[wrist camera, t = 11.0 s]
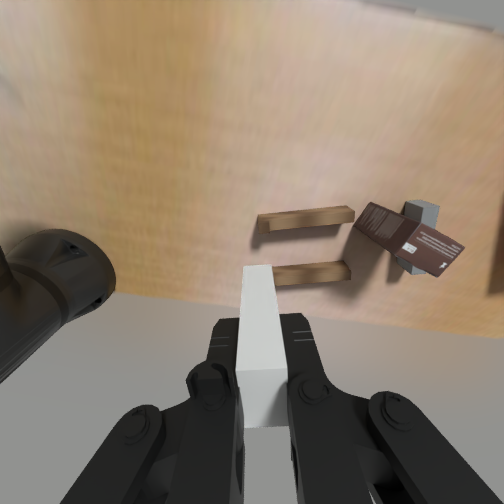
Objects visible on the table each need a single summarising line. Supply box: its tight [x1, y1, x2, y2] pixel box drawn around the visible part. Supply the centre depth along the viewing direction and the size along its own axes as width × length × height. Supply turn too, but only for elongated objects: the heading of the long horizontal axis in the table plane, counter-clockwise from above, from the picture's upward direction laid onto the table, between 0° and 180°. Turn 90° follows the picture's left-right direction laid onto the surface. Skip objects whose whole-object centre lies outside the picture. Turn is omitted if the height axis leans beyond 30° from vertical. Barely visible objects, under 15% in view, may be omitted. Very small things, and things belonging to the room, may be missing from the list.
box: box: [354, 202, 465, 277], centre depth 30 cm, size 6×4×12 cm
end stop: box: [397, 200, 440, 275], centre depth 34 cm, size 2×10×4 cm, turn 7°
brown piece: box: [258, 206, 355, 286], centre depth 35 cm, size 13×11×4 cm
